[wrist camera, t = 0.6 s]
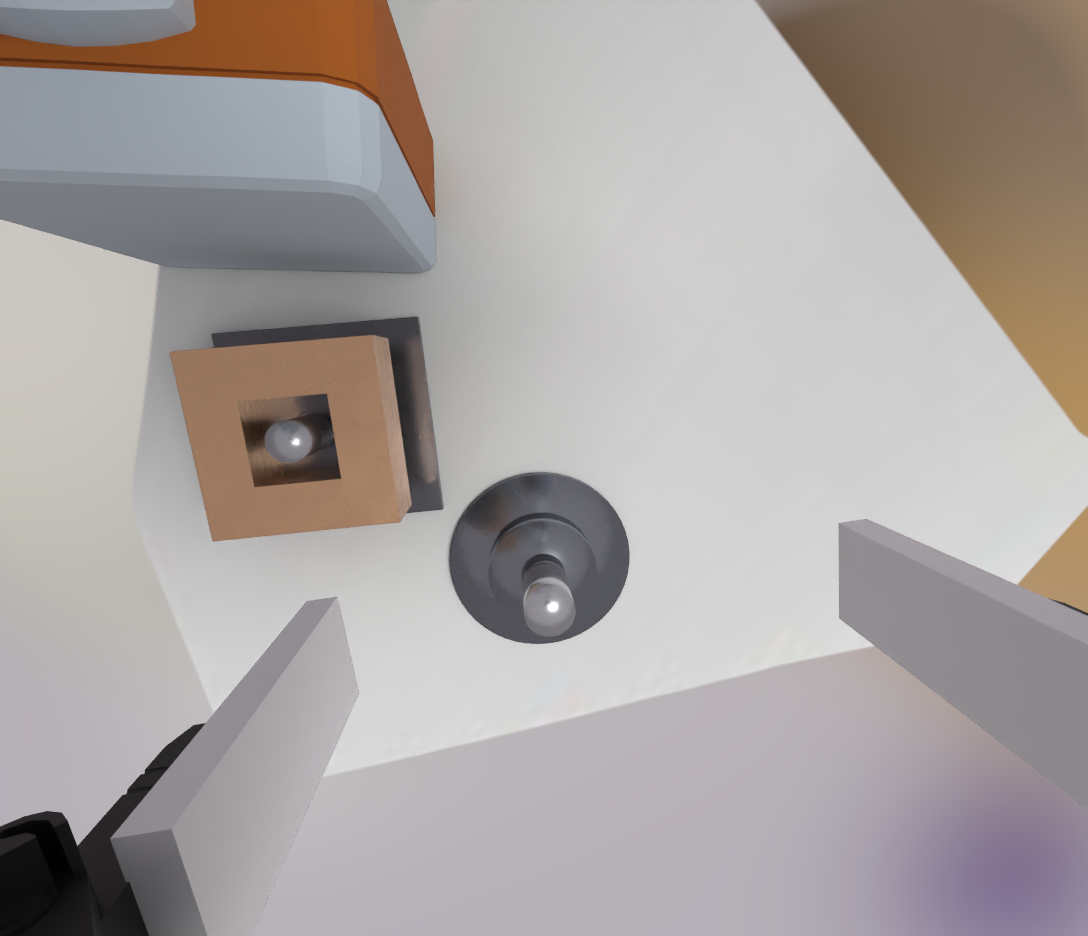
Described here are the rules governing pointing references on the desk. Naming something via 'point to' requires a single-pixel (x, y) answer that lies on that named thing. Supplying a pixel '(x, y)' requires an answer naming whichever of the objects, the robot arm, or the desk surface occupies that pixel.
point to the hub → (539, 558)
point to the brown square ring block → (245, 416)
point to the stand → (307, 421)
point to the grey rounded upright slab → (217, 132)
